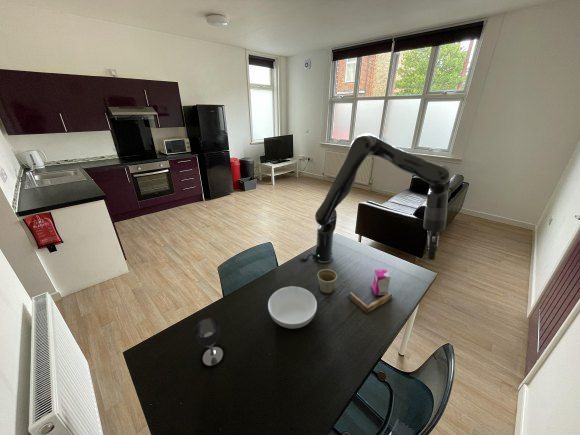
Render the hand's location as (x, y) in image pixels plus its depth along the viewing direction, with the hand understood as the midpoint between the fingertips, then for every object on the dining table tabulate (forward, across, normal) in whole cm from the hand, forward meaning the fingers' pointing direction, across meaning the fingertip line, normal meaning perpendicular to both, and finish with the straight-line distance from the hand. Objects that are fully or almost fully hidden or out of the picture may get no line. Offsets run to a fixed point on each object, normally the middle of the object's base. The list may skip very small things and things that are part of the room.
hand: (431, 255), depth 98 cm
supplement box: (+24, -3, -20) cm, 32 cm away
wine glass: (+27, +60, -67) cm, 94 cm away
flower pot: (+23, +7, -43) cm, 50 cm away
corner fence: (+25, +3, -23) cm, 34 cm away
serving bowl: (+25, +30, -50) cm, 64 cm away
